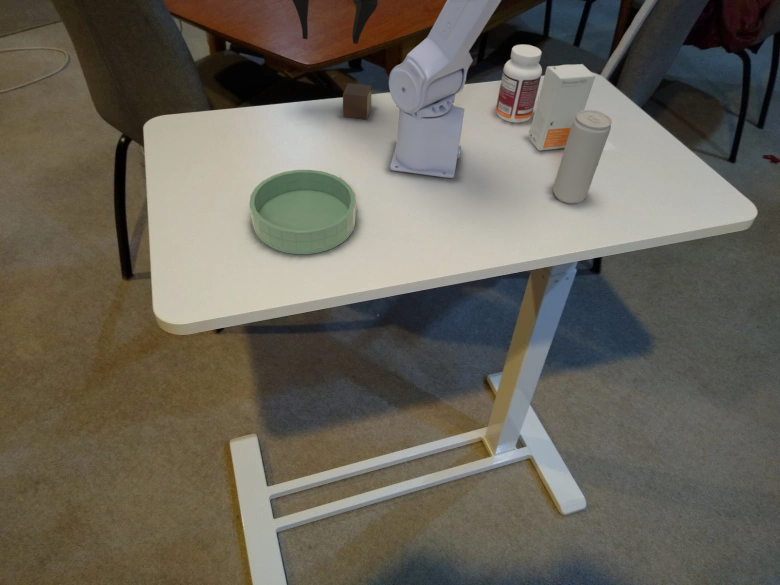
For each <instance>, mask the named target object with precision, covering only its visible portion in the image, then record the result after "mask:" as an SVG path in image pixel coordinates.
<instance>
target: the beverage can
mask: <svg viewBox="0 0 780 585" xmlns="http://www.w3.org/2000/svg"><path fill="white" fill-rule="evenodd" d="M612 121H613V119H612V118H611V117H610V116H609V115H608V114H606V113H604V112H602V111H598V110H593V109H584V110H582V111H579V112H578V113H577V114H576V117H575V118H574V120H573V123H572V126H571V129H570V133H569V136H568V139H567V142H566V146H565V148H563V153H562V155H561V158H560V162H559V166H558V170H557V173H556V176H555V180H554V183H553V186H552V192H553V195H554V196H555V197H556V199H557V200H559V201H561V202H562V203H566V204H578V203H581V202H582V201H584V200H585V199H586V198H587V196H588V193H589V190H590V188H591V184H592V183H593V182H592V181H593V179H594V176H595V174H596V171H597V168H598V166H599V163H600V160H601V157H602V154H603V151H604V149H605V146H606V143H607V141H608V138H609V135H610V132H611V129H612V124H613V122H612Z"/></svg>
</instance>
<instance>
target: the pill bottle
mask: <svg viewBox="0 0 780 585" xmlns="http://www.w3.org/2000/svg"><path fill="white" fill-rule="evenodd" d="M541 57H542V50H541V49H540V48H539V47H537V46H533V45H531V44H516V45H514V46H513V47H512V48H511V52H510V59H508V60H507V61H506V63H505V64H504V66H503V70H502V75H501V80H500V86H499V91H498V95H497V96H498V97H497V102H496V108H495V112H496V115H497V116H498V117H499V118H500V119H502V120H504V121H505V122H512V123H525V122H527V121H528V120H530V119H531V118H532V116H533V113H534V108H535V104H536V99H537V95H538V90H539V88H540V83H541V79H542V74H543V67H542V65H541V64H540V61H541Z"/></svg>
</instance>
